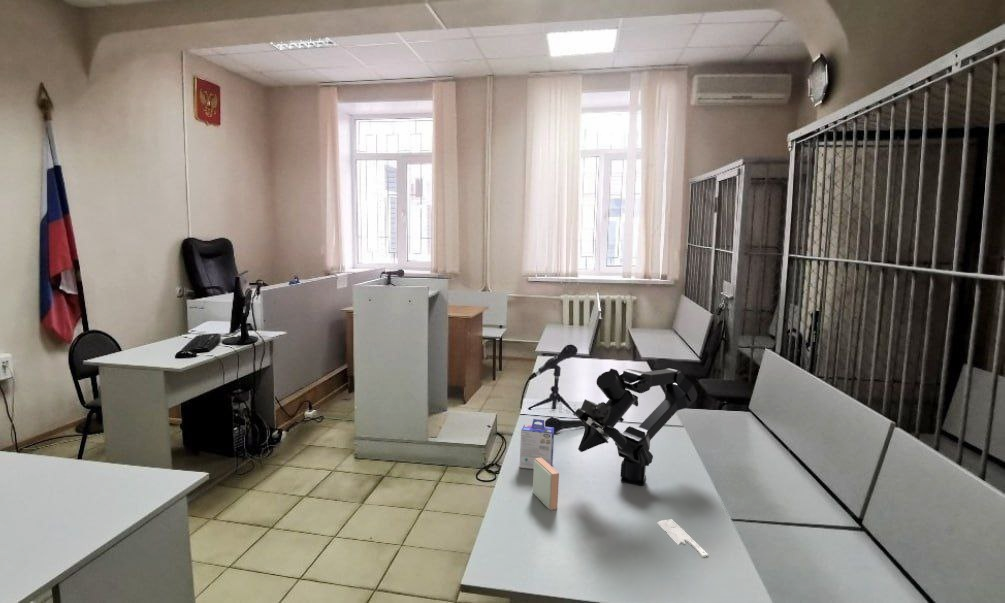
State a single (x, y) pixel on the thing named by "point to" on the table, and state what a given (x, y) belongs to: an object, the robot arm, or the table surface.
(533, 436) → the ink cartridge box
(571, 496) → the table surface
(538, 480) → the tile
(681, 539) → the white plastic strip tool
